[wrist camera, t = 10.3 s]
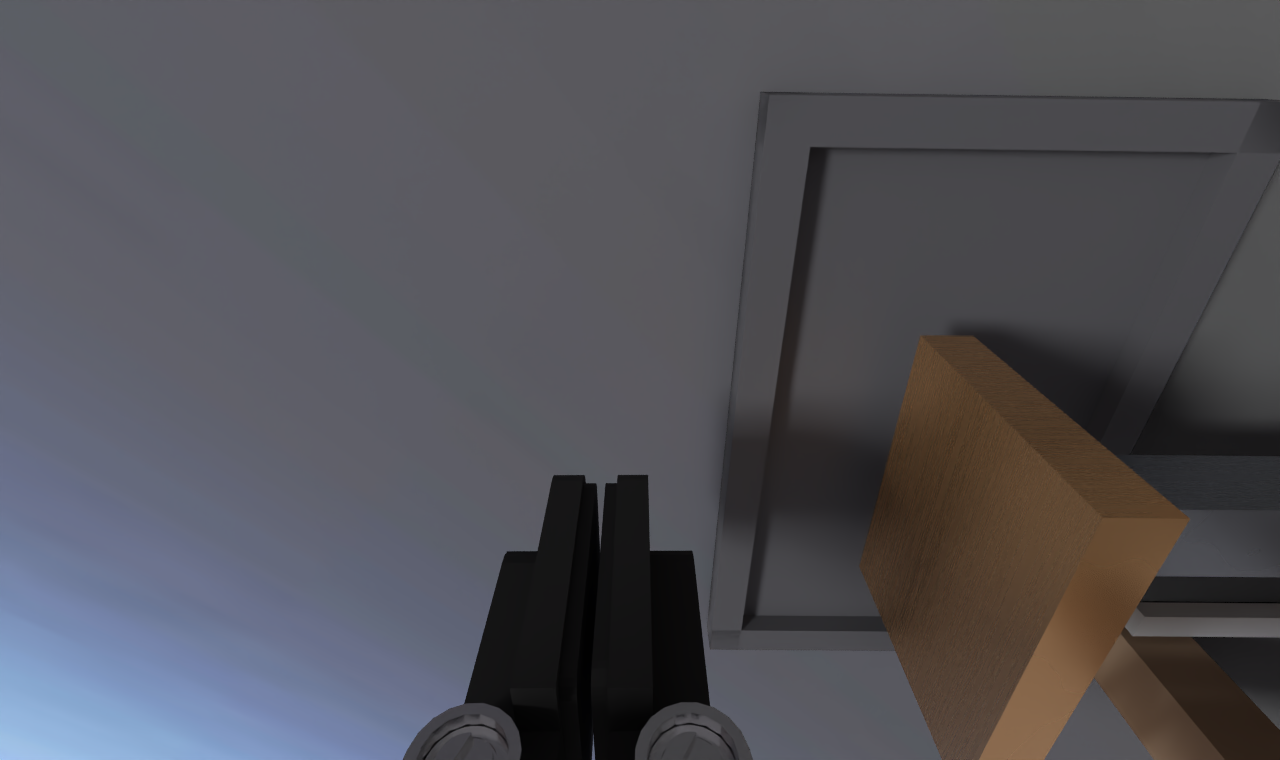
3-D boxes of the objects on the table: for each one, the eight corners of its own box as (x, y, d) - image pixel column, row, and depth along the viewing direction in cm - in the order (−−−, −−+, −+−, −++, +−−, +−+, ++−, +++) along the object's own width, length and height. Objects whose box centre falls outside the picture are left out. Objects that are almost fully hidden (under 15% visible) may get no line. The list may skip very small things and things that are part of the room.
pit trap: (760, 92, 10) (769, 95, 10) (1265, 99, 11) (1309, 102, 10) (706, 625, 17) (710, 649, 17) (1014, 627, 17) (1029, 651, 17)
